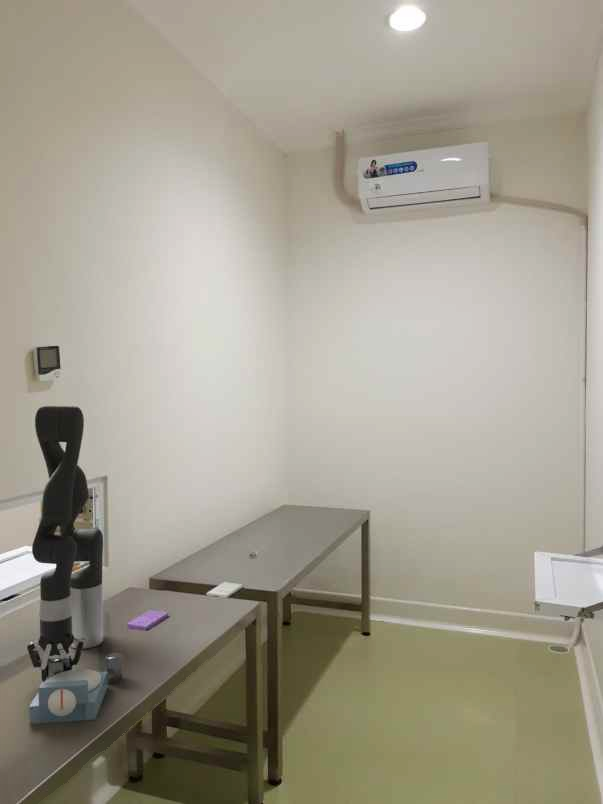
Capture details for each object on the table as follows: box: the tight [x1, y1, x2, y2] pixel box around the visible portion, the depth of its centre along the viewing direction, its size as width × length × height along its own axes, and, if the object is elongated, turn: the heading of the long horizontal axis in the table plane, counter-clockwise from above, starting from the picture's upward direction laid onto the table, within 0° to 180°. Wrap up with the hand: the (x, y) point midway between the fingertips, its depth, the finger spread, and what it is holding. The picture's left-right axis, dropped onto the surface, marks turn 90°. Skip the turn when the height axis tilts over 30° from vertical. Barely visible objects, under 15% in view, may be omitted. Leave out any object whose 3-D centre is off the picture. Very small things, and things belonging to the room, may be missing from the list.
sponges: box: [126, 609, 169, 631], centre depth 197 cm, size 7×13×2 cm, turn 159°
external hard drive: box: [205, 581, 244, 599], centre depth 226 cm, size 2×8×12 cm
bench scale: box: [29, 668, 108, 725], centre depth 146 cm, size 16×14×8 cm
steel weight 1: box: [48, 655, 66, 675], centre depth 157 cm, size 4×4×6 cm
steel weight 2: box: [104, 652, 124, 685], centre depth 159 cm, size 4×4×6 cm
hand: (57, 681), depth 157 cm, fingers closed on steel weight 1, 4 cm apart
